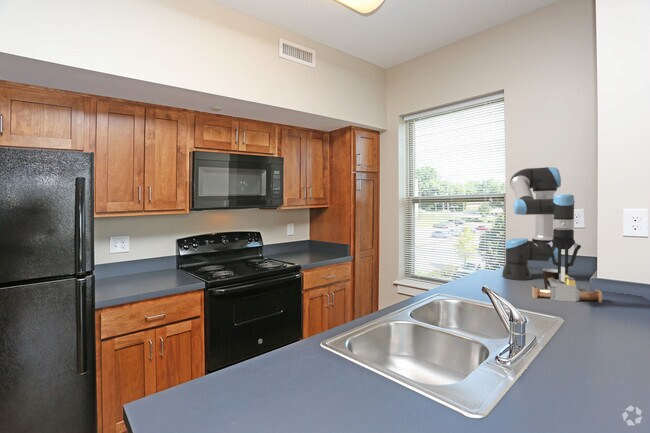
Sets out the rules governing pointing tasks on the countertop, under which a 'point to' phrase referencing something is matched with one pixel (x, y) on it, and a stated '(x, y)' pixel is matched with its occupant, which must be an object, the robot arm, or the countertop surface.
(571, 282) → the lever
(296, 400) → the countertop surface
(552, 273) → the coffee mug
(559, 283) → the valve body
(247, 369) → the countertop surface
